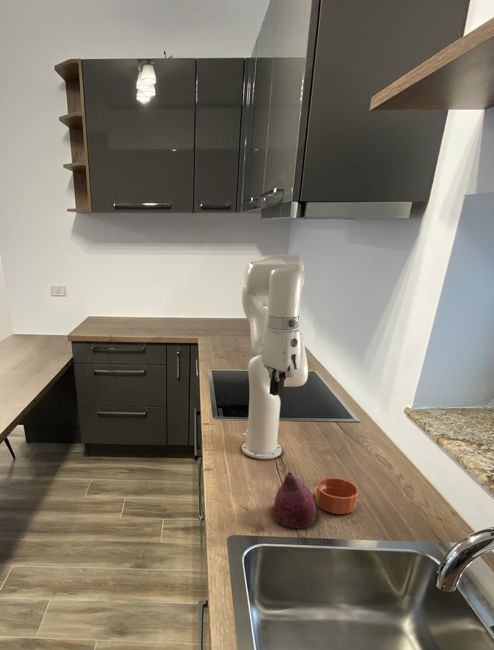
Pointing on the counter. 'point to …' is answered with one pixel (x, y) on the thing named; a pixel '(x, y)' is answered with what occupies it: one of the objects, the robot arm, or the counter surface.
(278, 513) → the vegetable
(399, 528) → the counter surface
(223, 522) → the counter surface
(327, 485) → the bowl
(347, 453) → the counter surface
